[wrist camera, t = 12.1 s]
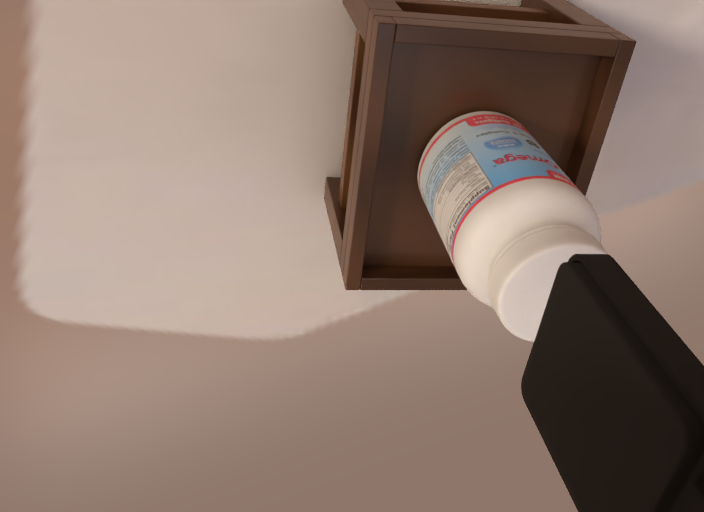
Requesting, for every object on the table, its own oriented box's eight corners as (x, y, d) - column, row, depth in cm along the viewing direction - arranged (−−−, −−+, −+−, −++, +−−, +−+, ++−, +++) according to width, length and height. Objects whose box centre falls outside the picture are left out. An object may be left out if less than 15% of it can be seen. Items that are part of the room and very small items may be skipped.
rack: (345, -27, 37) (378, 22, 28) (549, -10, 39) (636, 41, 30) (324, 198, 44) (345, 290, 36) (496, 202, 46) (554, 290, 38)
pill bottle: (554, 140, 34) (673, 264, 25) (482, 232, 37) (566, 376, 27) (460, 84, 32) (553, 199, 22) (390, 187, 34) (448, 328, 25)
